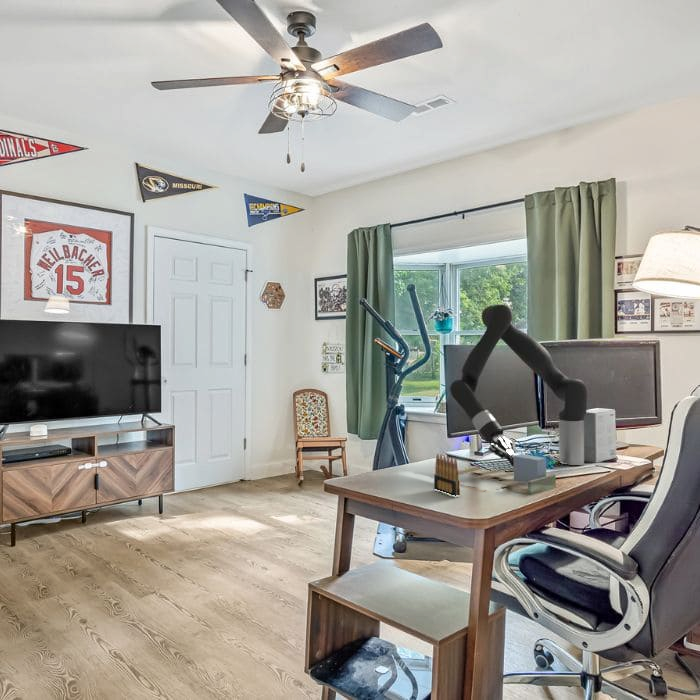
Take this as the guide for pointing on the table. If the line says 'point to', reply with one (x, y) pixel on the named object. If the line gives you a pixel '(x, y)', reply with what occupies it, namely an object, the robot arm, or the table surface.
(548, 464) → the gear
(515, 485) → the trap board
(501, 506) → the table surface
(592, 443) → the hard drive box
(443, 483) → the ammunition clip
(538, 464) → the slate block
